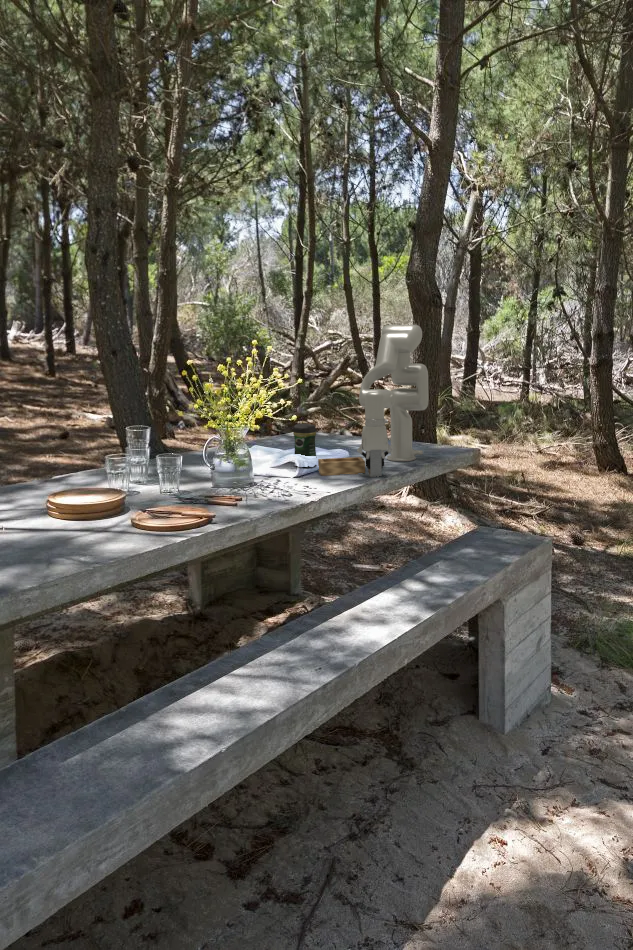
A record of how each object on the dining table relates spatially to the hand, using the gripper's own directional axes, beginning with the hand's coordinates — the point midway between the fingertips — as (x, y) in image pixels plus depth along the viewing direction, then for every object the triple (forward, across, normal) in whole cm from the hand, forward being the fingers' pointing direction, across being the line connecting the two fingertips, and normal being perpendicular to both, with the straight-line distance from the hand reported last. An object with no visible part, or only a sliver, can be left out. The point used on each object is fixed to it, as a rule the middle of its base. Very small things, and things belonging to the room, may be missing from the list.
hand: (374, 467), depth 326 cm
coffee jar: (+4, +25, -27) cm, 37 cm away
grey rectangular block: (+3, 0, 0) cm, 3 cm away
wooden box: (+3, +12, -10) cm, 16 cm away
